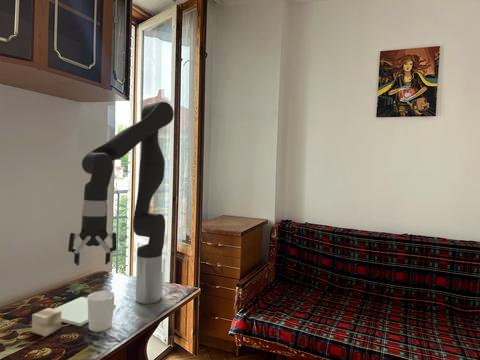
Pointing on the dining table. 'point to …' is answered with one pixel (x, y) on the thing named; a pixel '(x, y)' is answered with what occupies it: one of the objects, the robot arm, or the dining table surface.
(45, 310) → the beech cube
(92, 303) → the white cup
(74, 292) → the dining table surface
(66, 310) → the sage board
